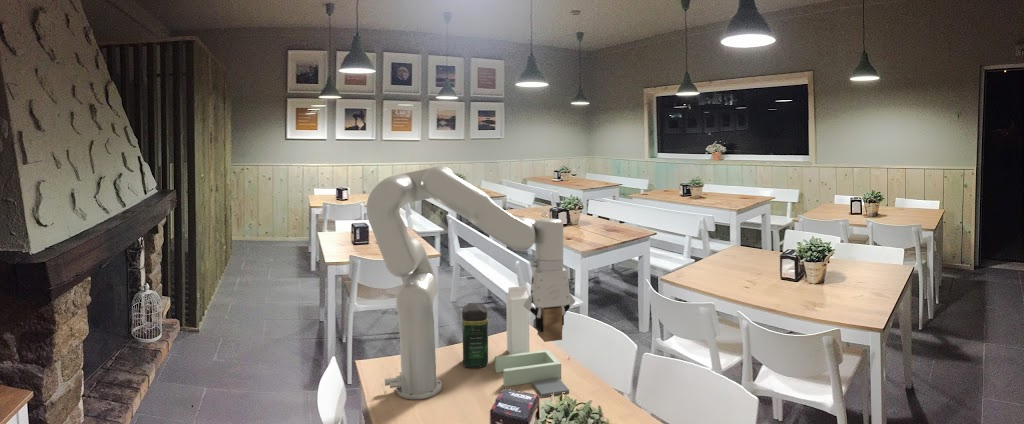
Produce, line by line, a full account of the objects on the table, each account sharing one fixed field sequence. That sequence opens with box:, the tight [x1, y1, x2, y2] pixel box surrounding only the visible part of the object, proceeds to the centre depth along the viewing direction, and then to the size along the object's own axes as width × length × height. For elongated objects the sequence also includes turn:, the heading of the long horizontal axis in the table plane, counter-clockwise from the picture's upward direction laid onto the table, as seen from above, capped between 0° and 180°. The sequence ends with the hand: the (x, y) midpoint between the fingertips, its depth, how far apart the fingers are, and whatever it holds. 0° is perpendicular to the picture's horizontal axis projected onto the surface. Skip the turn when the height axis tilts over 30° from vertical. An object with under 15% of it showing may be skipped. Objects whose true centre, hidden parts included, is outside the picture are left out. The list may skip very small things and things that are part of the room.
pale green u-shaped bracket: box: [494, 349, 562, 387], centre depth 160 cm, size 17×11×4 cm, turn 106°
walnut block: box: [537, 306, 563, 343], centre depth 148 cm, size 5×6×9 cm
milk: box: [505, 285, 531, 355], centre depth 175 cm, size 6×6×22 cm
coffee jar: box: [461, 302, 489, 369], centre depth 167 cm, size 10×8×19 cm
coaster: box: [531, 378, 570, 398], centre depth 151 cm, size 8×8×1 cm
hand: (549, 328), depth 148 cm, fingers closed on walnut block, 5 cm apart
